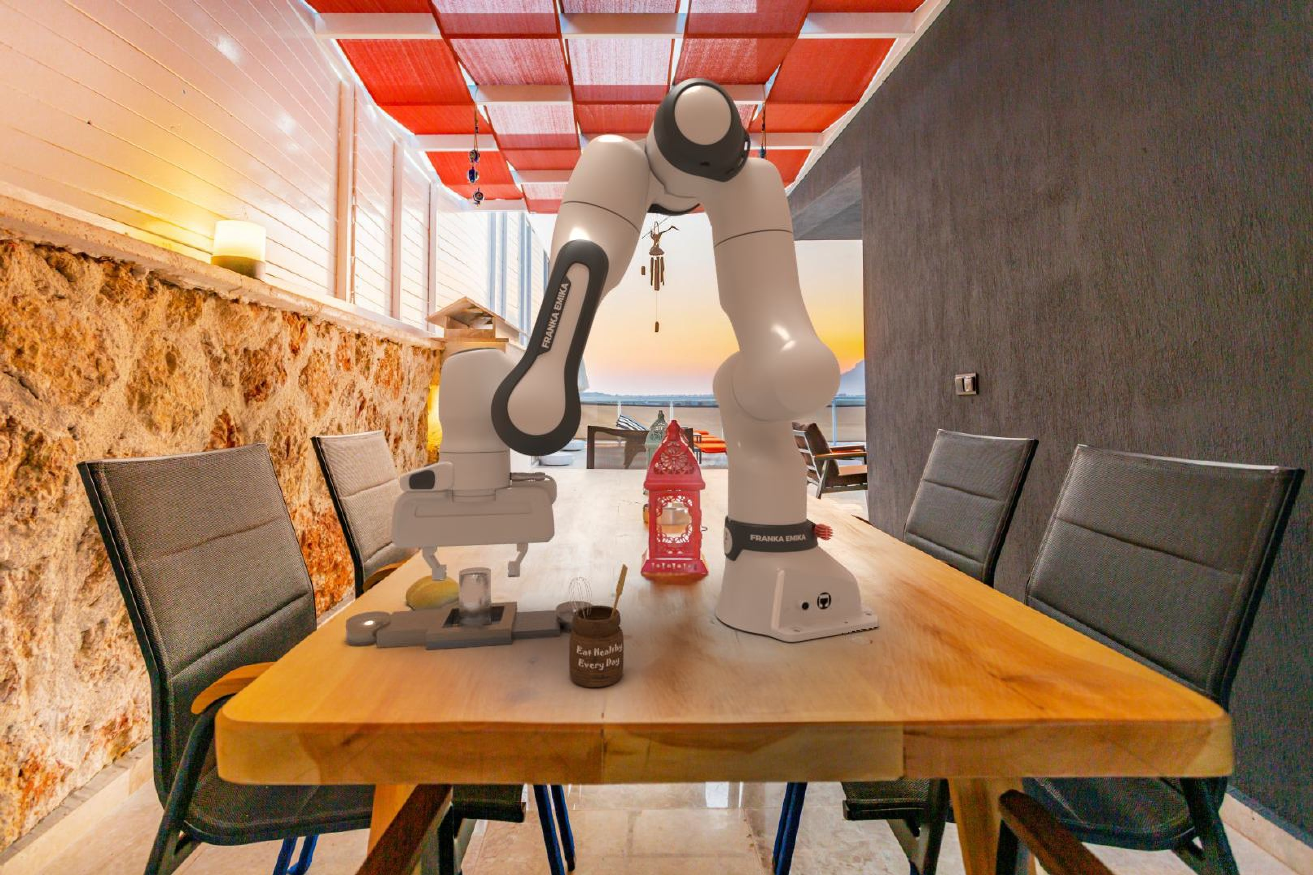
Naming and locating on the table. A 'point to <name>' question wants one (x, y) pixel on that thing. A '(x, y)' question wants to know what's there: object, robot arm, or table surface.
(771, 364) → the robot arm
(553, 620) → the lower chain link
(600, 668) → the utensil holder
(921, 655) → the table surface
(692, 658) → the table surface
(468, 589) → the steel pin
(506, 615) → the upper chain link
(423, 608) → the bread roll
